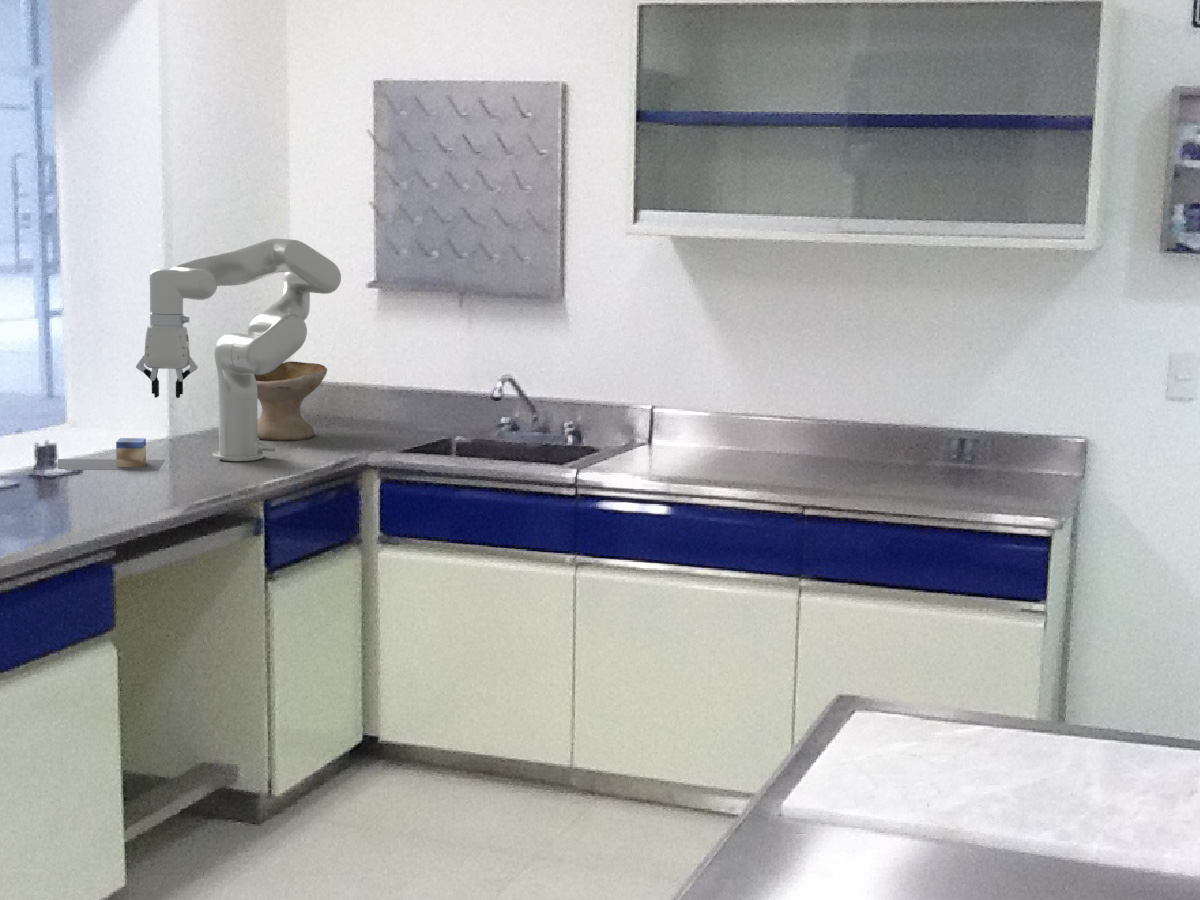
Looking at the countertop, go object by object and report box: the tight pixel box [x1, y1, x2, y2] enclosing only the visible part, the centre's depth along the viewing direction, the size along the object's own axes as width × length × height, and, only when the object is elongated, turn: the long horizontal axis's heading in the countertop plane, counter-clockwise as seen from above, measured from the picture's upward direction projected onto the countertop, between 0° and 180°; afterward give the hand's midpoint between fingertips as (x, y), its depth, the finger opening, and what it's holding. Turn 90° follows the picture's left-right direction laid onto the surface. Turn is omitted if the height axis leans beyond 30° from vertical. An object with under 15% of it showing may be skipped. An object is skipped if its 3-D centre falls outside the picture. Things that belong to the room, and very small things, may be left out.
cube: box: [115, 437, 147, 467], centre depth 334 cm, size 6×6×6 cm
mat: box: [57, 458, 166, 471], centre depth 334 cm, size 26×14×1 cm, turn 100°
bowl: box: [254, 361, 328, 442], centre depth 388 cm, size 26×25×20 cm
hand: (167, 396), depth 334 cm, fingers open, 4 cm apart
